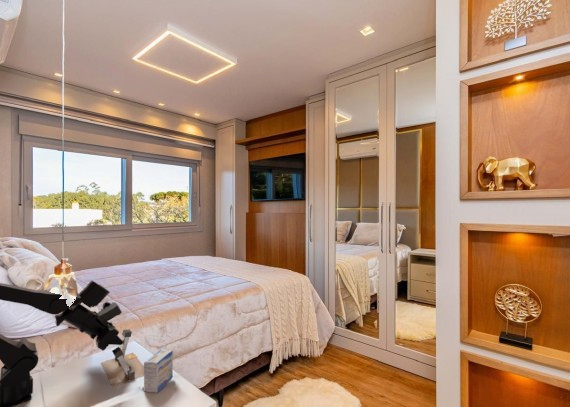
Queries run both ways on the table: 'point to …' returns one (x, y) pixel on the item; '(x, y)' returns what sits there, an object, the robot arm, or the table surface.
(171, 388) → the table surface
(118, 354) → the near lever
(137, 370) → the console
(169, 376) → the medicine box
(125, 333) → the far lever
